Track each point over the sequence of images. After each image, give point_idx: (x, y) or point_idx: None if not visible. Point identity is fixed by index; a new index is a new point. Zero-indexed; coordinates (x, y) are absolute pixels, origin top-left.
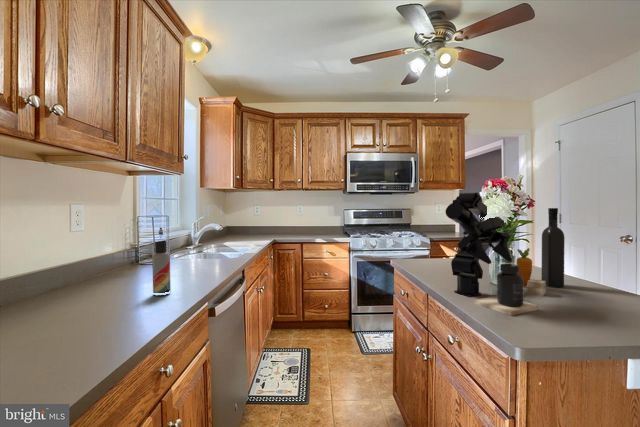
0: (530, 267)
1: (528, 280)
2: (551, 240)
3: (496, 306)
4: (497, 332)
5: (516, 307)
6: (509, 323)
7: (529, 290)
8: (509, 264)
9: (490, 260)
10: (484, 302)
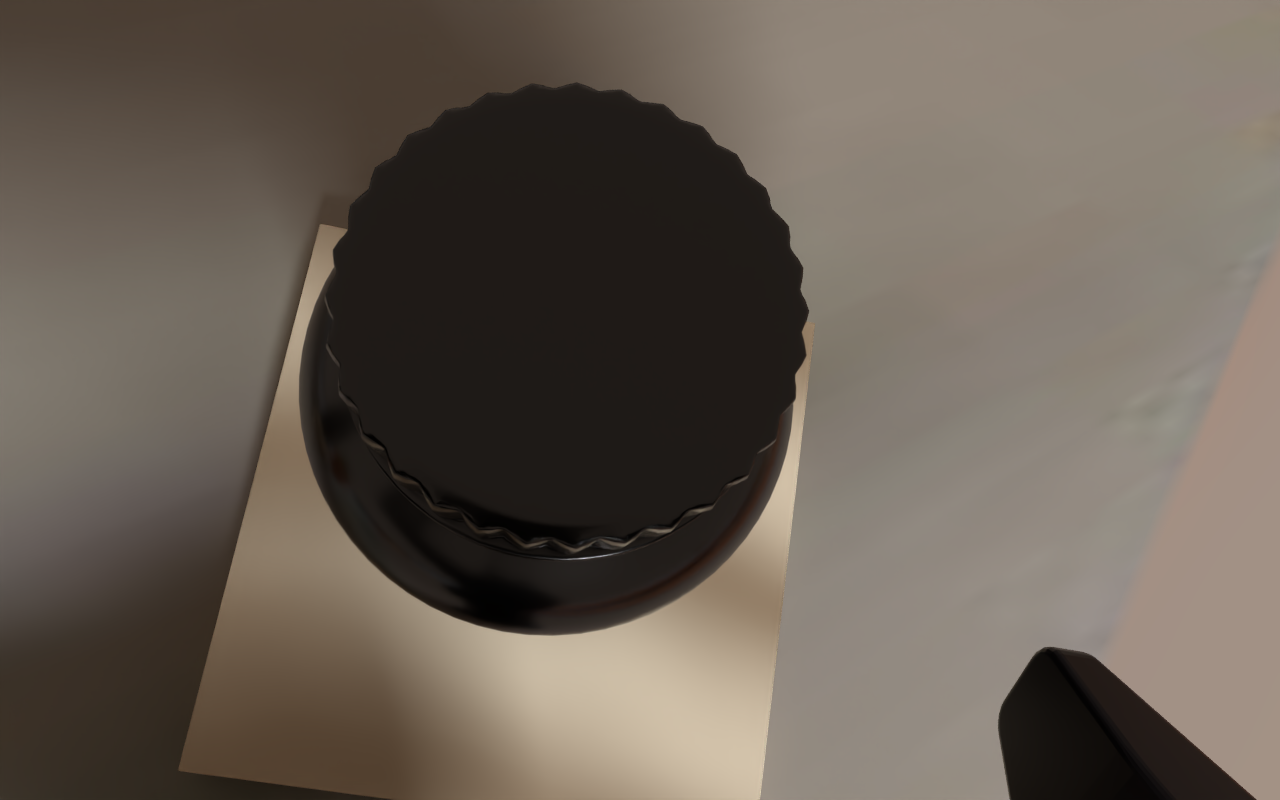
0: None
1: None
2: None
3: (781, 508)
4: (1273, 224)
5: None
6: (1009, 253)
7: None
8: (489, 338)
9: (1093, 687)
10: (757, 689)
